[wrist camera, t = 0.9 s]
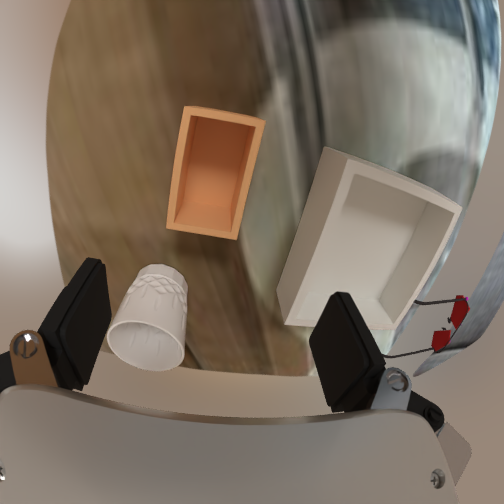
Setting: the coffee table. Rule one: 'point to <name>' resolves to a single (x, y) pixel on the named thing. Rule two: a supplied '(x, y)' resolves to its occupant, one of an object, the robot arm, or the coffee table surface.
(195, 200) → the orange crate
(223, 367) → the coffee table surface
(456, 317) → the glasses
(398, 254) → the box
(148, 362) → the white cup
